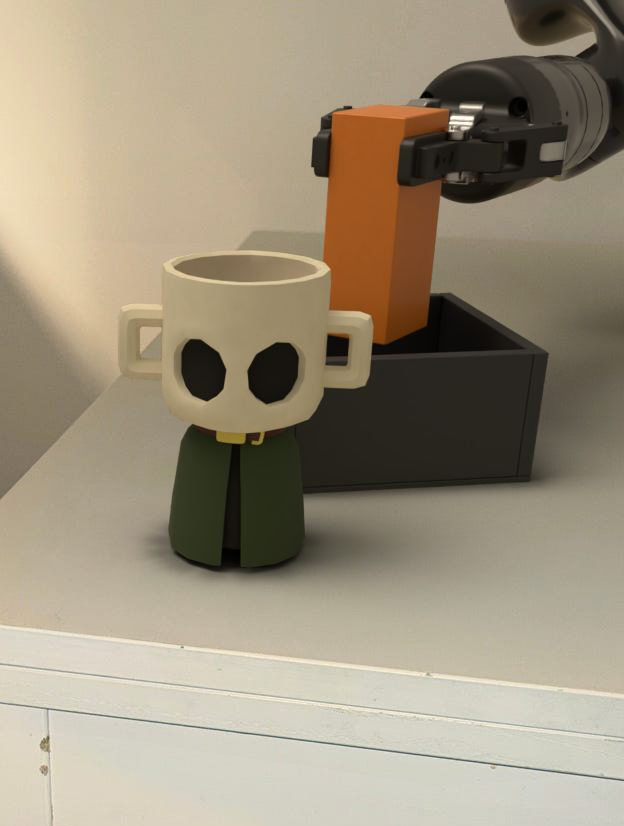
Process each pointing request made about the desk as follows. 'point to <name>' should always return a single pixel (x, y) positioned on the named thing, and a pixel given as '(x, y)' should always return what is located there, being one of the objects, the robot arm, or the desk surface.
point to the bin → (429, 409)
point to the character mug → (242, 391)
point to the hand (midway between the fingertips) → (363, 159)
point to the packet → (380, 219)
